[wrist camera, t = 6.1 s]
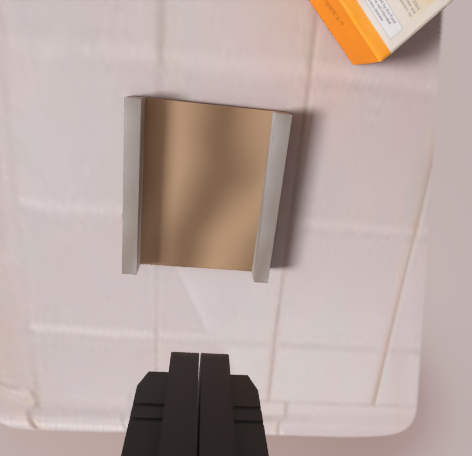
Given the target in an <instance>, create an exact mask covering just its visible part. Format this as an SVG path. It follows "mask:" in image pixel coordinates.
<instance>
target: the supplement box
mask: <svg viewBox="0 0 472 456" xmlns="http://www.w3.org/2000/svg"><path fill="white" fill-rule="evenodd" d="M309 1H310V2H311V4H312V5H313V7H314V8H315V10H316V11H317V13H318V14H319V16H320V17H321V19H322V20H323V22H324V23H325V24H326V26H327V27H328V29H329V30H330V32H331V33H332V35H333V36H334V37H335V39H336V40H337V42H338V43H339V45H340V46H341V47H342V49H343V50H344V52H345V53H346V55H347V56H348V58H349V59H350V61H351V62H352V64H353V65H359V64H369V63H375V62H382V61H383V60H385V59H386V58H387V57H388V56H390V55H391V54H392V53H393V52H394V51H395V50H396V49H398V48H399V47H400V46H401V45H402V44H403V43H404V42H406V41H407V40H408V39H409V38H410V37H411V36H412V35H414V34H415V33H416V32H417V31H418V30H419V29H421V28H422V27H423V26H424V25H425V24H426V23H428V22H429V21H430V20H431V19H432V18H433V17H434V16H436V15H437V14H438V13H439V12H440V11H441V10H442V9H444V8H445V7H446V6H447V5H448V4H449V3H450V2H452V1H453V0H309Z"/></svg>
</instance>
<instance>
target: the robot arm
mask: <svg viewBox="0 0 472 456" xmlns="http://www.w3.org/2000/svg"><path fill="white" fill-rule="evenodd" d="M198 369H199V353H185V352H171V359H170V366H169V372H148V373H147V374H146V376H145V377H144V378H143V379H142V381H141V382H140V383H139V384H138V385H137V389H136V393H135V398H134V402H133V406H132V411H131V415H130V421H129V424H128V428H127V433H126V437H125V441H124V446H123V450H122V455H121V456H269V455H268V449H267V443H266V437H265V430H264V425H263V418H262V412H261V409H260V408H261V406H260V400H259V394H258V390H257V388H256V387H255V385H254V384H253V382H252V381H251V380H250V378H249V377H248V375H230V365H229V355H228V354H210V353H201V358H200V369H199V380H198Z"/></svg>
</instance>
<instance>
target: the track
mask: <svg viewBox="0 0 472 456" xmlns="http://www.w3.org/2000/svg"><path fill="white" fill-rule="evenodd" d="M291 121H292V115H291V114H289V113H286V112H279V111H270V110H260V109H251V108H242V107H232V106H223V105H214V104H204V103H195V102H185V101H176V100H167V99H157V98H148V97H139V96H128V97H124V169H123V247H122V274H137V272H138V269H139V266H140V264H151V265H166V266H181V267H196V268H211V269H226V270H241V271H252V274H253V279H254V282H261V283H268V278H269V271H270V264H271V257H272V250H273V244H274V237H275V230H276V223H277V216H278V210H279V203H280V196H281V189H282V183H283V176H284V169H285V162H286V155H287V149H288V142H289V135H290V128H291Z"/></svg>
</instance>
